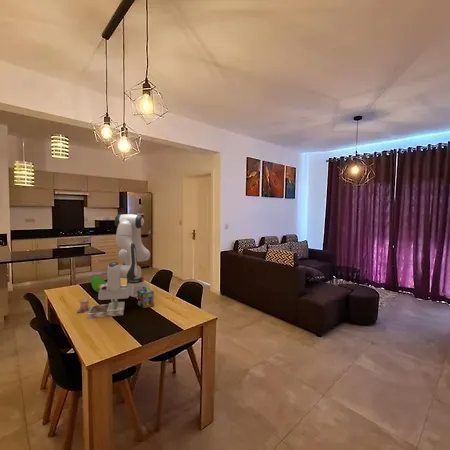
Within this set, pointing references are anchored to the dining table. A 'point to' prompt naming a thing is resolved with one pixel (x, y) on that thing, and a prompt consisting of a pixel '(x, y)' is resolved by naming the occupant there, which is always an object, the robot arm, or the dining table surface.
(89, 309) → the slate tile
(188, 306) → the dining table surface
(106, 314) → the sliding lid box
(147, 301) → the chalk box
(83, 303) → the terracotta knob
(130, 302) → the dining table surface
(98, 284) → the decorative tree
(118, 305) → the sliding lid panel
